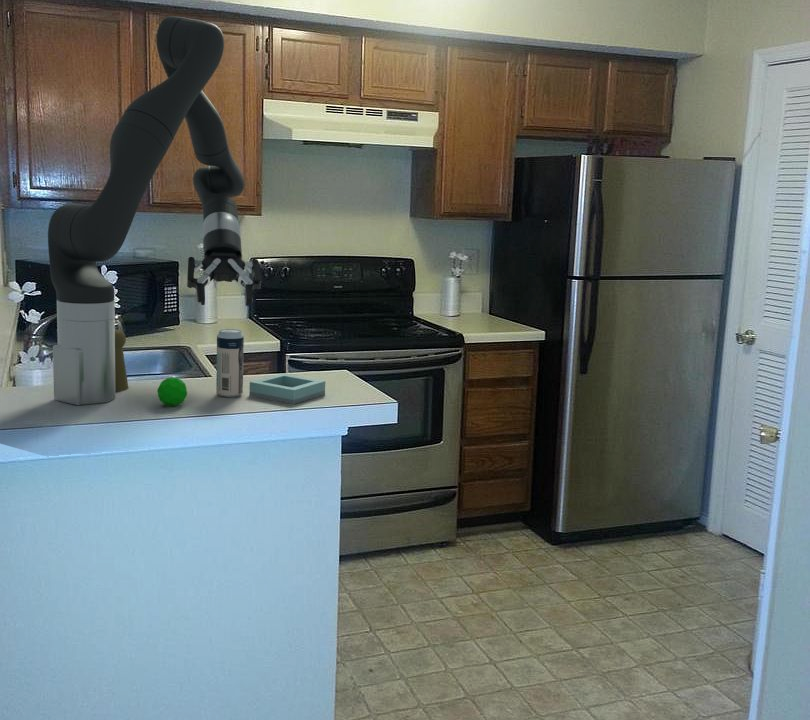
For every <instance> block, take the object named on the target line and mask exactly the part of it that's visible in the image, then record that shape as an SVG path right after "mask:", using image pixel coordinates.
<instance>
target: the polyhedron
mask: <svg viewBox="0 0 810 720" xmlns="http://www.w3.org/2000/svg"><path fill="white" fill-rule="evenodd" d="M156 392H157V396H158V400H159V401H160V402H161V403H162V404H163V405H164V406H167V407H173V406H174V407H177V406H180V405H181V404H182V403H184V402H185V400H186V398H187V397H188V390H187V385H186V383H185V382H184V381H183V380H182V379H180V378H179V377H173V376H171V377H166V378H165V379H164V380H163V379H162V381H161V382H160V383H159V386H158V388H157V391H156Z"/></svg>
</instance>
